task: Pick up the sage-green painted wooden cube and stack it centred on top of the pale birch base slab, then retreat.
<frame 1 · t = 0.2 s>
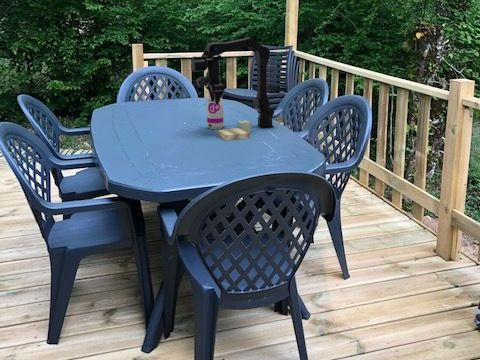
hand: (214, 103, 274), 14 cm above the table, fingers open, 9 cm apart
base slab: (233, 137, 268), on the table
supplement can: (215, 128, 287), on the table
cube: (244, 131, 278), on the table
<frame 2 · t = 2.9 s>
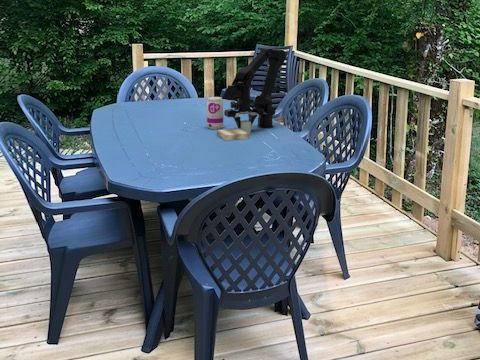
hand: (244, 129, 278), 1 cm above the table, fingers closed on cube, 5 cm apart
cube: (244, 131, 278), on the table, touching gripper
everything else where it was.
when the fingers open (5 cm above the table, at t = 6.4 s): cube drops 2 cm, resting on base slab.
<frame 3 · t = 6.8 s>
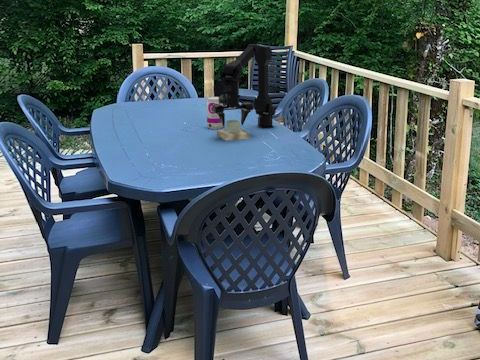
hand: (232, 125, 267), 5 cm above the table, fingers open, 9 cm apart
base slab: (233, 138, 268), on the table, touching cube
cube: (233, 131, 267), point 2 cm above the table, touching base slab
everything else where it was.
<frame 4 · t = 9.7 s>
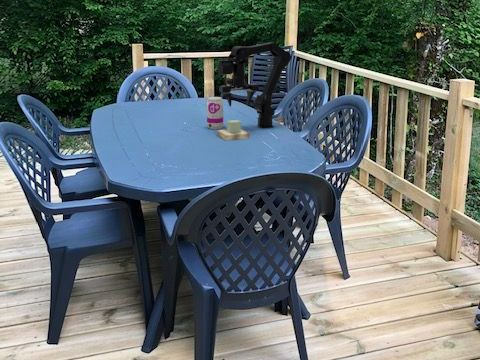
hand: (239, 105, 278), 12 cm above the table, fingers open, 9 cm apart
nothing on the table moved.
at the end: cube inside the target area on the base slab (0.4 cm from its centre), point 3.0 cm above the base slab's base; cube tilted 0°; the gripper is holding nothing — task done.
